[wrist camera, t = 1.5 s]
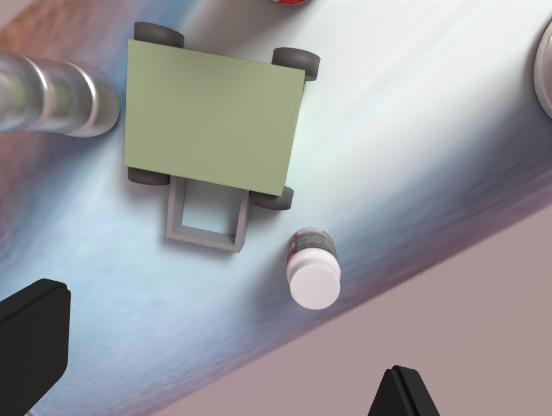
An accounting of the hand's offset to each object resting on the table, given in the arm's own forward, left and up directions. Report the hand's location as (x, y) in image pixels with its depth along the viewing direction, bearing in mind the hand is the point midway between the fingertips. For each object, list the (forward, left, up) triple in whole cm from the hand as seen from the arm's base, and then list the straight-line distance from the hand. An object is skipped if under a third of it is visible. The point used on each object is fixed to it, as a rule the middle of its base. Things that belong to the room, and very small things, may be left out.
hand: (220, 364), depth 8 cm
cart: (+7, -3, -22) cm, 24 cm away
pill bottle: (-4, +5, -23) cm, 24 cm away
